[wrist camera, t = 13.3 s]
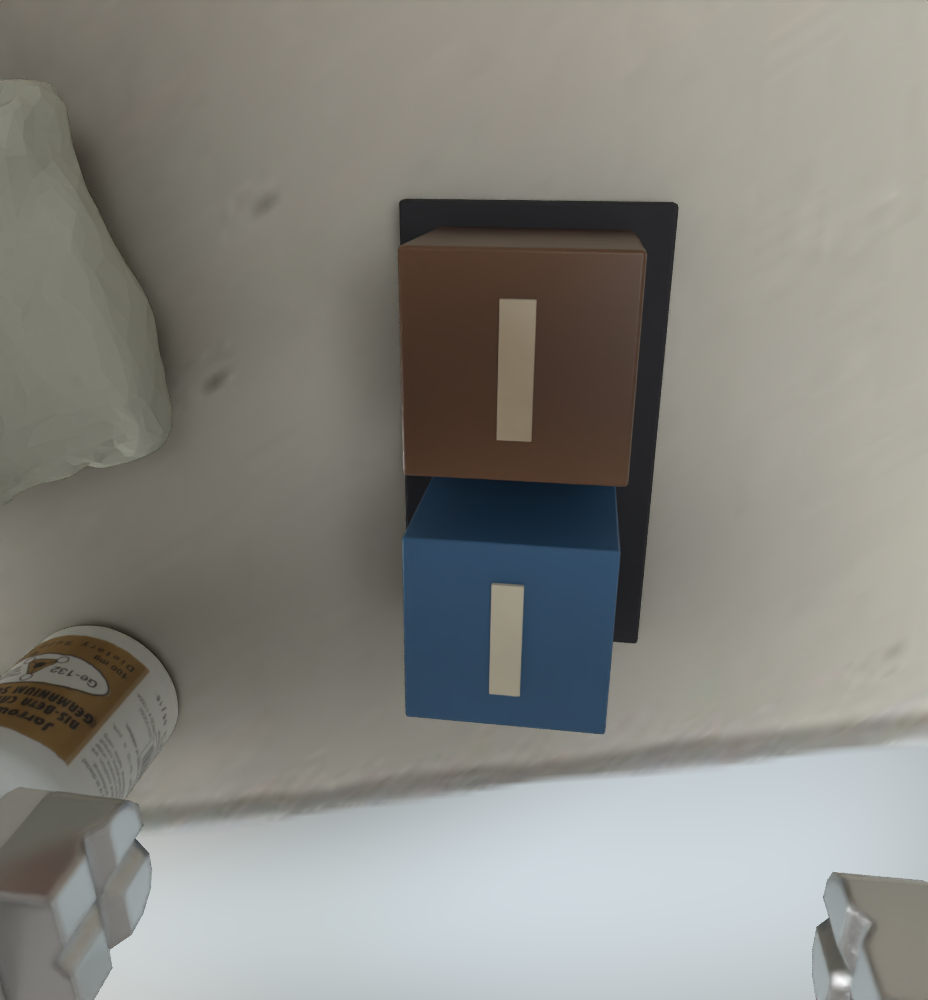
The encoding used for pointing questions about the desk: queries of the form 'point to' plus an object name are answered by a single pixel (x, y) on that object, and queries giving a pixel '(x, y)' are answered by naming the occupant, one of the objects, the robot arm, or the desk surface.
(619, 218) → the mat
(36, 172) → the decorative stone
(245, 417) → the desk surface
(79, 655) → the pill bottle
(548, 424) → the tile
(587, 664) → the blue cube
